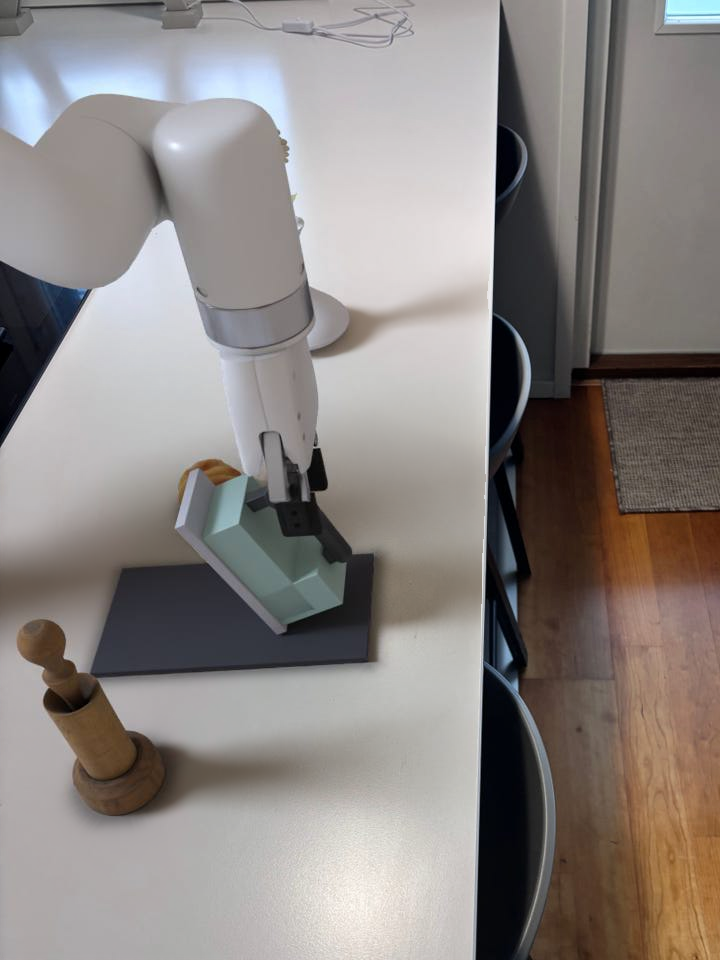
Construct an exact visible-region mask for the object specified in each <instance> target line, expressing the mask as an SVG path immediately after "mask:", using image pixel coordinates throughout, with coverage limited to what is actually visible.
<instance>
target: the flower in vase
mask: <svg viewBox="0 0 720 960" xmlns="http://www.w3.org/2000/svg"><path fill="white" fill-rule="evenodd" d="M277 130H278V133H279V137H280V141H281V146H282V151H283V156H284V161H285V164H288V163H289V159H288V157H290V153H289V151H290V150H291V147H290V146H289V145H288V141H287V139H285V138H282V137H281V136H280V135H281V131H280V129H279V128H277ZM297 195H298V192H296V193H295V194H291V197H292V202H293V203H294V202H295V199H296V197H297ZM295 217H296V222H297V227H298V232H299V237H300V236H301V233H302V231H303V229H304V227H305V220H304V219H303V218H302V217H300V216H297V215H295ZM309 288H310V293H311V298H312V303H313V308H314V313H315V325H314V327H313V329H312V331H311V332H310V333H309V334H308V335H307V341H308V345H309V349H310V351H314V350H317V349H320V348H324V347H326V346H329V345H331V344H332V343H334V342H336V341H337V340H339V338H341V337H342V336H343V335H344V333H345V332H346V330H347V328H348V326H349V324H350V320H351V317H350V312H348V309H347V308H346V306H345V305H344V304H343V302H341V301H339V299H337V298H335V297H334V296H332V295H330V293H329V294H328V293H326V292H324V291H322V290H320V289H317V288H314V287H313V286H310V285H309Z"/></svg>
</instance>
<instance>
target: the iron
mask: <svg viewBox="0 0 720 960" xmlns="http://www.w3.org/2000/svg"><path fill="white" fill-rule="evenodd" d="M286 460H290V459H289V458H288V457H286ZM287 478H288V483H289V484H297V485H299V482H298V476H297V473H287ZM318 509H319V513H320V517H321V522H322V526H323V531H322V534H321V535H316V536H299V537H285V536H283V534H282V531H281V528H280V524H279V521H278V517H277V513H276V510H275V506H274V503H271V502H270V499H269V491H268V481H267V480H266V484H265V485H264V486H262V484H260V482H259V481H258V480H257V479H256V477H255V476H253V477H249V476H248V475H246V473H245V472H244V474H241V475H240V476H238V477H236V478H233V479H231V480H229V481H226V482H224V483H222V484H220V485H217V486H215V485H214V484H213V483H212V482H211V481H210V479H209V478H208V477H207V476H206V475H205V474H204V473H203V471H202V470H201V469H200V468H198V469H195V470H193V471H191V472H190V473H189V477H188V481H187V484H186V488H185V492H184V496H183V499H182V503H181V506H179V511H178V515H177V519H176V522H175V526H174V529H175V531H176V532H177V533H178V534H179V535H180V536H181V537H182V538H183V539H184V540H185V541H186V542H187V543H188V544H189V545H190V546H191V548H193V549H194V550H195V551H196V552H197V553H198V555H200V557H201V558H202V559H203V560H204V561H205V562H206V563H208V564H209V565H210V566H211V567H212V568H213V569H214V570H215V571H216V572H217V573H218V574H219V575H220V576H221V577H222V578H223V579H224V580H225V581H226V582H227V583H228V584H229V585H230V586H231V587H232V588H233V589H234V590H235V591H236V593H237V594H238V595H239V596H240V597H241V598H242V599H243V600H244V601H245V602H246V603H247V604H248V605H249V606H250V607H251V608H252V609H253V610H254V611H255V612H256V613H257V614H258V615H259V616H260V617H261V618H262V619H263V620H264V622H265V623H266V624H267V625H268V626H269V627H270V628H271V629H272V630H273V631H274V632H275V633H276V634H277V635H278V634H281V633H284V632H286V631H287V624H289V623H292V622H295V621H297V620H300V619H303V618H305V617H308V616H311V615H314V614H316V613H319V612H322V611H325V610H327V609H330V608H333V607H335V606H338V605H341V604H343V595H344V585H345V574H346V563H347V562H348V561H349V560H350V559H351V557H352V555H353V548H352V547H351V544H349V542H348V541H347V540H346V538H345V537H344V536H343V535H342V533H340V531H339V530H338V529H337V527H336V526H335V524H333V522H332V521H331V520H330V519H329V517H328V516H327V515H326V514H325V512H324V511H323V510H322V509H321V507H320V506H319V505H318Z"/></svg>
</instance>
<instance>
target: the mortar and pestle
mask: <svg viewBox="0 0 720 960" xmlns="http://www.w3.org/2000/svg"><path fill="white" fill-rule="evenodd" d="M15 642H16V648H17V651H18V653H19V654H20V656H21V657H22V658H23V659H24V660H26V661H27V662H28V663H31V664H34V665H36V666H39V667H41V668H43V671H42V673H41V679H42V681H43V683H44V684H45V685H46V686H47V687H48V688H47V689H46V691H45V692H44V694H43V698H42V706H43V708H44V710H45V711H46V713H47V714H48V716H49V717H50V719H51V721H53V723H54V725H55V726H56V728H57V729H58V730H59V732H60V733H61V735H62V737H63V738H64V740H65V741H66V743H67V744H68V745H69V747H70V748H71V750H72V752H73V753H74V755H75V756H76V759H75V761H74V763H73V767H72V772H71V773H72V782H73V785H74V787H75V789H76V791H77V792H78V794H79V795H80V796H81V798H82V800H83V801H84V803H85V804H86V805H87V806H88V807H89V808H90V809H91V810H92V811H94V812H96V813H97V814H101V815H105V816H120V815H126V814H128V813H131V812H135V811H136V810H139V809H140V808H141V807H143V806H145V805H146V804H147V803H149V802H150V801H151V800H152V799H153V798H154V797H155V795H156V794H157V793H158V791H159V790H160V788H161V786H162V785H163V782H164V779H165V764H164V761H163V758H162V757H161V755H160V753H159V752H158V750H157V747H156V746H155V745H154V743H153V742H152V741H151V740H150V738H149V737H148V736H146V735H144V734H142V733H141V732H138V731H135V730H129V729H127V730H126V728H125V727H124V725H123V723H122V721H121V719H120V718H119V716H118V713H117V712H116V711H115V709H114V708H113V706H112V704H111V702H110V700H109V698H108V696H107V694H106V692H105V691H104V689H103V687H102V686H101V684H100V682H99V680H98V679H97V677H94V676H93V675H91V674H90V673H88V672H78V670H77V666H76V664H75V663H74V662H73V660H70V659H68V658H64V656H65V651H66V647H67V646H66V645H67V637H66V634H65V631H64V629H63V628H62V627H61V626H60V625H59V624H58V623H57V622H55V621H53V620H51V619H47V618H35V619H32V620H29V621H28V622H26V623H24V624H23V625H22V626H21V627H20V629H19V630H18V632H17V634H16V641H15Z"/></svg>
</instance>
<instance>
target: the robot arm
mask: <svg viewBox="0 0 720 960" xmlns="http://www.w3.org/2000/svg"><path fill="white" fill-rule="evenodd" d="M277 129H278V127H277V125H276V123H275V121H274V119H273V118H272V116H271V114H270V113H268V111H267V110H266V109H264V107H263V106H261V105H259V104H257V103H255V102H253V101H250V100H247V99H242V98H241V99H240V98H235V97H233V98H232V97H215V98H214V97H213V98H206V99H205V98H204V99H200V100H195V101H192V102H188V103H179V102H170V101H163V100H156V99H151V98H150V99H149V98H145V97H139V96H133V95H127V94H118V93H95V94H90V95H86V96H83V97H80V98H79V99H76V100H75V101H73V102H72V103H71V104H69V105H68V106H67V107H66V108H65V109H64V110H63V111H62V112H61V113H60V115H59V116H58V117H57V118H56V119H55V121H54V122H53V123H52V124H51V126H50V127H49V128H48V129H47V130H45V131H44V132H43V134H42V135H41V136H40V137H39V139H38V140H37V142H36V143H35V144H34V145H33V146H32V145H31V144H29V143H27V142H26V141H24V140H23V139H21V138H19V137H17V136H15V135H14V134H12V133H11V132H9V131H8V130H6V129H5V128H2V127H1V126H0V262H2V263H4V264H6V265H8V266H10V267H12V268H13V269H16V270H18V271H19V272H21V273H24V274H26V275H28V276H30V277H32V278H35V279H38V280H40V281H42V282H46V283H49V284H50V285H54V286H57V287H62V288H67V289H72V290H94V289H99V288H104V287H106V286H109V285H110V284H113V283H115V282H117V281H118V280H119V279H120V278H122V277H123V276H124V275H125V274H126V273H127V272H128V271H129V270H130V268H131V266H132V265H133V263H134V262H135V261H136V259H137V257H138V256H139V254H140V252H141V250H142V249H143V247H144V246H145V243H146V241H147V240H148V238H149V236H150V234H151V232H152V230H153V229H155V228H156V227H157V226H159V225H160V224H162V223H163V222H165V221H169V222H172V223H173V228H174V230H175V231H174V232H175V234H176V237H177V241H178V244H179V247H180V251H181V254H182V257H183V261H184V264H185V268H186V272H187V275H188V277H189V280H190V284H191V287H192V292H193V295H194V298H195V302H196V305H197V309H198V312H199V315H200V319H201V322H202V326H203V330H204V332H205V336H206V339H207V341H208V343H209V344H210V345H211V346H212V347H213V348H215V349H217V350H218V351H219V360H220V369H221V377H222V382H223V388H224V394H225V399H226V403H227V408H228V413H229V417H230V421H231V425H232V430H233V435H234V438H235V443H236V446H237V451H238V455H239V459H240V463H241V467H242V470H243V472H244V474H245V473H246V475H248V476H249V477H253V476H254V477H259V476H260V473H261V468H262V465H263V461H264V465H265V468H266V482H267V481H268V491H269V499H270V502H271V503H274V506H275V510H276V513H277V517H278V521H279V524H280V528H281V531H282V534H283V536H285V537H299V536H316V535H321V534H322V531H323V526H322V522H321V517H320V513H319V509H318V506H319V505H318V501H317V497H316V492H325V491H327V490H328V488H329V480H328V476H327V471H326V466H325V463H324V457H323V453H322V448H321V447H318V446H319V437H318V436H319V435H318V432H317V423H318V416H319V391H318V384H317V378H316V373H315V368H314V364H313V363H314V362H313V359H312V353H311V350H310V349H309V345H308V341H307V335H308V334H309V333H310V332H311V331H312V329H313V327H314V325H315V313H314V308H313V303H312V298H311V293H310V288H309V286H310V283H309V278H308V274H307V269H306V264H305V259H304V253H303V248H302V243H301V238H300V236H299V232H298V227H297V222H296V217H295V216H296V212H295V207H294V202H292V197H291V195H292V192H291V187H290V182H289V177H288V172H287V167H286V163H285V161H284V156H283V151H282V146H281V141H280V137H281V136H280V135H279V133H278V130H279V129H278V130H277ZM286 457H288V458H289V459H290V460H286ZM287 473H297V476H298V482H299V485H297V484H289V483H288V478H287Z"/></svg>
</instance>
